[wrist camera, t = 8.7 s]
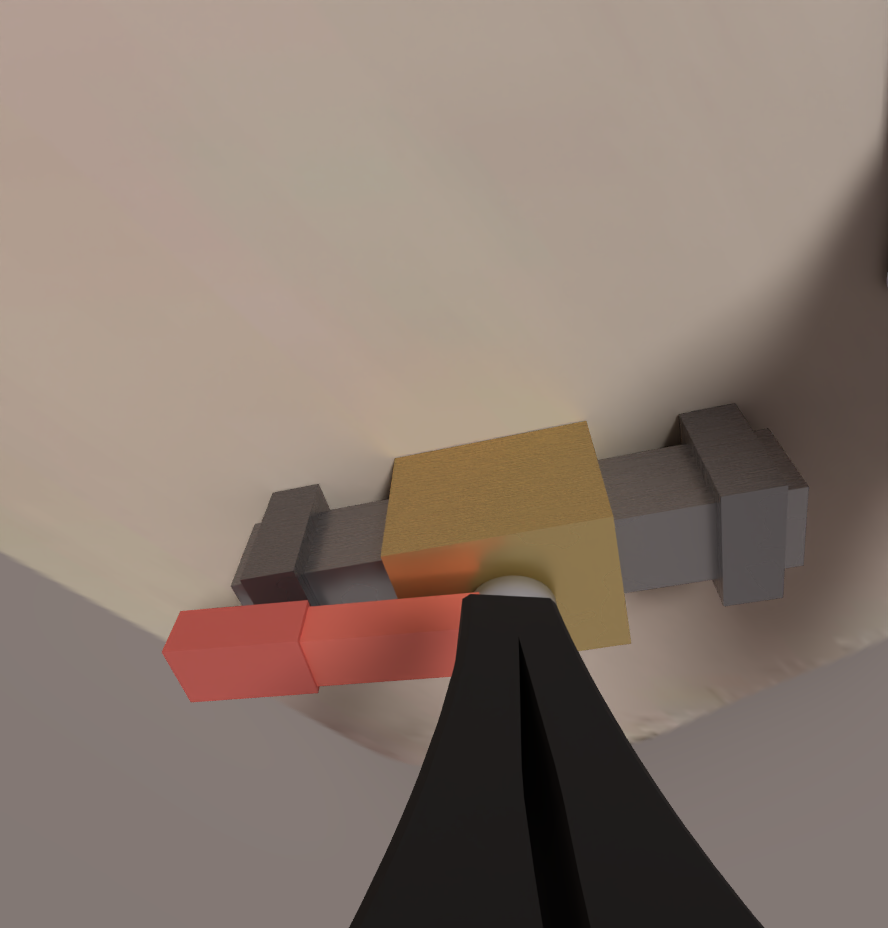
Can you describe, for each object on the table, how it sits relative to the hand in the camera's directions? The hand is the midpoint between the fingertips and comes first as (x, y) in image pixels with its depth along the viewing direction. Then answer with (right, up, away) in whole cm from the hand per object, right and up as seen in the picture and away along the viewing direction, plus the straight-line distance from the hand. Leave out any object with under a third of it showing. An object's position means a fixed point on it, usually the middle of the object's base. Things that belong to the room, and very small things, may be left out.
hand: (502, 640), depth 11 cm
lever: (-3, -2, +8) cm, 9 cm away
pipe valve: (+1, +2, +12) cm, 12 cm away
